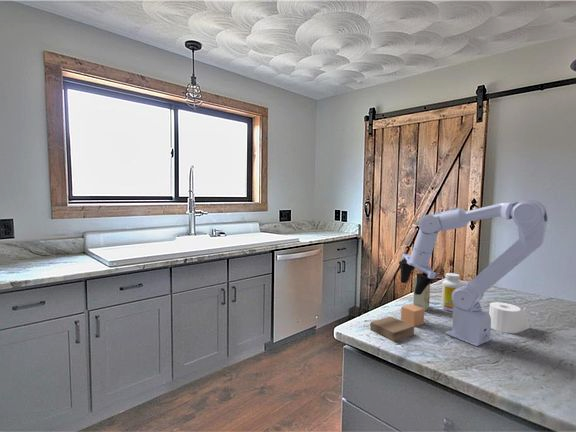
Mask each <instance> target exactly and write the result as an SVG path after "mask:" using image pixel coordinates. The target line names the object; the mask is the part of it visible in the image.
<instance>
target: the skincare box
mask: <svg viewBox="0 0 576 432" xmlns="http://www.w3.org/2000/svg"><path fill="white" fill-rule="evenodd" d="M413 277H414V281H413V282H414V283H413V303H412V304H413V305H415V306H418V307H421V308H424V312H426V311H427V310H428V309H429V308H430V296H431V295H430V294H431V293H430V292H431V283H430V284H429V285H428V286H427V287H426V288H425V289H424V291H423V292H422V294H421V295H416V294H415V288H416V284H417V274H416V275H415V276H413Z"/></svg>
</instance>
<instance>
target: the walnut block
mask: <svg viewBox="0 0 576 432" xmlns="http://www.w3.org/2000/svg"><path fill="white" fill-rule="evenodd" d="M369 329H370V331H371V332H373V333H375V334H377V335H379V336H381V337H383V338H385V339H387V340H389V341H391V342H397V341H399V340H402V339H405V338H408V337H411V336H414V335H415V326H412V325H410V324H408V323H405V322H403V321H401V319H398V318H395V317H394V316H391V315H390V316H387V317H383V318H380V319H376V320H373V321H370V328H369Z"/></svg>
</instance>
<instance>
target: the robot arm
mask: <svg viewBox="0 0 576 432" xmlns="http://www.w3.org/2000/svg"><path fill="white" fill-rule="evenodd" d="M497 217H498V218H502V219H505V220H511V219H512V220H513V222H514V224H515V225H516V227H517V231H518V232H517V234H518V239H517V240H516V241H515V242H514V243H513V244H511V245H509V247H508V248H506V250H505V251H504V252H503V251H502V253H501V254H500V255H499V256H498V257H497V258H495V259H494V260H493V261H492V262H491V263H490V264H489V265H487V266H486V267H485V268H484V269H483V270H482V271H480V272H479V273H478V274H477V275H476V276H475V277H473V279H471V280H470V281H465V282H464V283H462V286H460V287H459V288H457V289H455V290H454V291H453V292H452V296H451V297H452V301H453V311H452V327H451V330H448V331H445V334H446V335H448V336H451V337H453V338H455V339H458V340H461V341H463V342H466V343H468V344H471V345H472V346H476V347H478V346H480V345H482V344H485V343H487V342H489V341H492V338H491V332H492V331H491V329H492V328H491V317H490V315H489V312H488V313H487V312H485V311H484V310H483V309H482V306H481V303H480V301H481V300H482V299H483V298H484V294H485V292H487V291H488V290H489V289H490V288H491V287H493V285H495V284H496V283H497V282H498V281H500V280H501V279H503V278H504V277H505V276H506V275H507V274H508V273H510V272H511V271H512V270H514V269H515V268H516V267H517V266H518V265H519V264H521V262H523V261H525V259H526V258H528V257H529V256H530V255H531V254H532V253H534V252H535V251H536V250H538V248H540V247H541V246H542V245H543V243H544V241H545V240H544V239H545V236H546V234H545V233H546V231H547V230H546V228H547V224H548V221H549V220H548V219H549V217H548V213H547V209H546V207H545V205H544V204H543V203H541V202H540V201H537V200H533V199H532V200H522V201H513V202H501V203H500V202H499V203H495V204H492V205H488V206H483V207H478V208H475V209H470V210H465V209H464V208H461V207H460V208H459V207H458V208H457V207H456V206H455V207H454V206H453V207H451V208H450V210H446V211H445V210H444V211H441V212H440V211H435V212H434V214H425V215H424V216H422V217H420V219H419V220H418V228H419V230H418V233H417V235H416V239H415V242H414V245H413V248H412V251H411V255H410V254H407V253H402V255H401V260H399V262H398V264H399V269H400V283H401V284H402V283H403V284H407V283H408V281H409V279H410V276H411V273H412V272H413V271H414V269H417V270H418V271H420V272H421V273H417V272H416V275H417V284H416V288H415V294H416V295H421V294H422V292H423V291H424V289H425V288H426V287H427V286H428V285H429V284H430V285H431V284H432V282H433V281H435V278H436V275H437V272H435V271H434V270H433V269H432V268H431V267H430V265H429V262H430V261H431V257H432V254H433V251H434V248H435V244H436V241H437V239H438V238H437V237H438V235H439V232H441V231H449V230H455V229H460V228H461V229H462V228H466V227H467V225H468V224H469V223H470V222H473V221H479V220H486V219H491V218H497Z"/></svg>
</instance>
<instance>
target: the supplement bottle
mask: <svg viewBox="0 0 576 432" xmlns="http://www.w3.org/2000/svg"><path fill="white" fill-rule="evenodd" d="M444 276H445V279H443V281H442V283H441V284H442V285H441V301H440V303H441V305H440V306H441V308H442V309H444V310H446V311H450V312H453V301H452V297H451V296H452V292H453V291H454V290H455V289H457V288H459V287H460V286H462V285H463V283H462V282H461V281H460V278H461V276H460V274H458V273H454V272H446V273H445V275H444Z"/></svg>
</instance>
